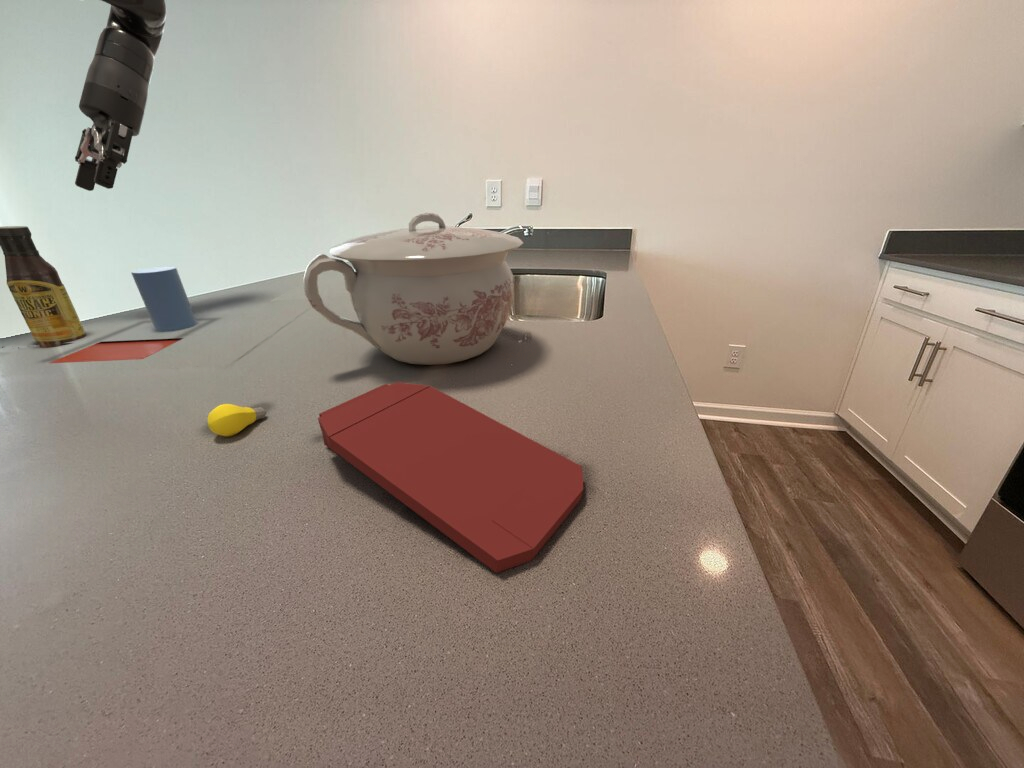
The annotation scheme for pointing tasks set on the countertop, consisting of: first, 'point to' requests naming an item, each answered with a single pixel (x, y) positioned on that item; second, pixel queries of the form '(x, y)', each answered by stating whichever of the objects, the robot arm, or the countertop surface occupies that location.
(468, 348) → the chamber pot
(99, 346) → the board
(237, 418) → the light bulb
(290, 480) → the countertop surface
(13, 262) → the sauce bottle
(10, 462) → the countertop surface
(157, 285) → the blue can
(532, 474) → the red chamfered slab
